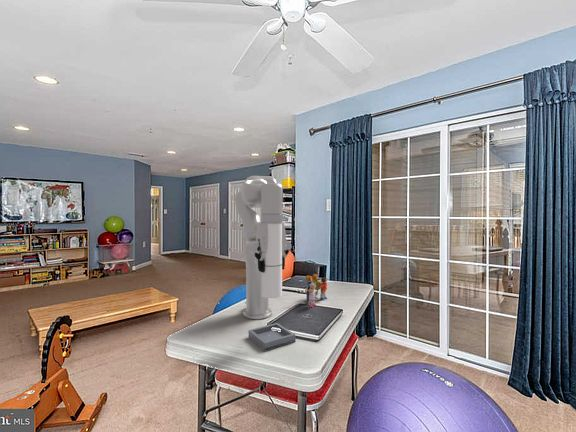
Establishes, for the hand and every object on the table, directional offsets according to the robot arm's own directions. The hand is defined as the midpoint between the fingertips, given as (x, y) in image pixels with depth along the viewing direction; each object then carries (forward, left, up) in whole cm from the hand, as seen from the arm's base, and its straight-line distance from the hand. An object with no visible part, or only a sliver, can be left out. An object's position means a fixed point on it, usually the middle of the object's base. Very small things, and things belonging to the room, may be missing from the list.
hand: (271, 269), depth 103 cm
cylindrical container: (0, 0, -9) cm, 9 cm away
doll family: (-24, +37, -25) cm, 51 cm away
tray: (0, 0, -25) cm, 25 cm away
